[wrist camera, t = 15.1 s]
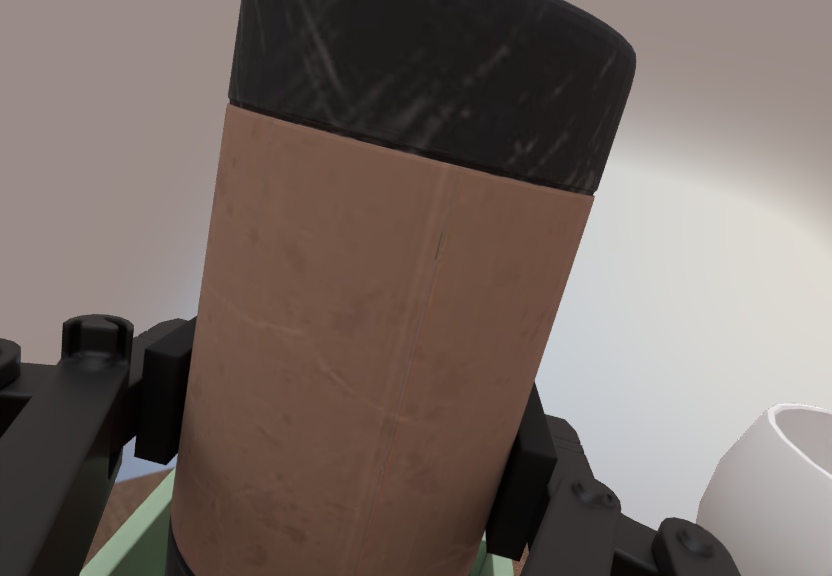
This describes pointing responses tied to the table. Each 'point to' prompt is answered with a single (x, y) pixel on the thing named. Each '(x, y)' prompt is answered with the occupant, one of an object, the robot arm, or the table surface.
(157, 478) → the table surface
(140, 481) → the table surface
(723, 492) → the cup
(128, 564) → the bin
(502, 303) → the travel mug
